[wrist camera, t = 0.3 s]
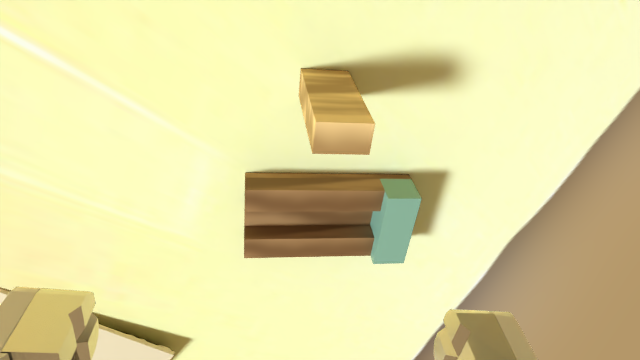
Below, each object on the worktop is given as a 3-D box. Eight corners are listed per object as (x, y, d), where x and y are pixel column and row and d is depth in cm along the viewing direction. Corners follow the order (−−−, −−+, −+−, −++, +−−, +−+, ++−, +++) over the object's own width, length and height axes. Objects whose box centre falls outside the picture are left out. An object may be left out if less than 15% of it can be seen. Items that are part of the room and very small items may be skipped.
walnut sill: (245, 172, 53) (245, 198, 49) (408, 174, 57) (421, 198, 53) (244, 238, 59) (244, 266, 55) (393, 237, 62) (403, 263, 58)
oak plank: (300, 68, 47) (315, 121, 37) (348, 70, 48) (375, 123, 38) (298, 95, 49) (312, 153, 39) (344, 97, 50) (369, 154, 40)
